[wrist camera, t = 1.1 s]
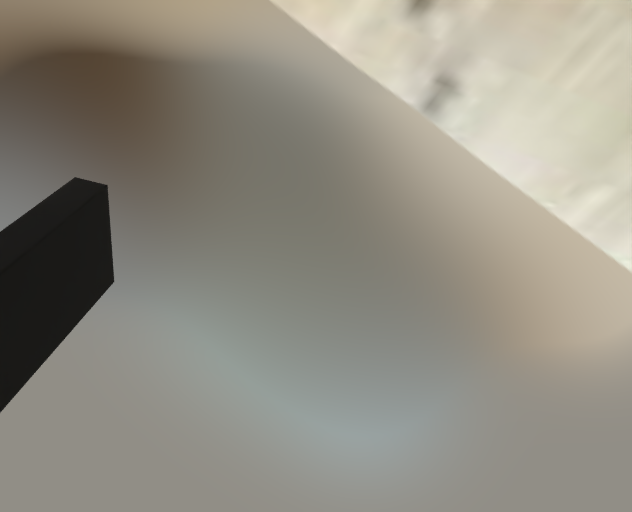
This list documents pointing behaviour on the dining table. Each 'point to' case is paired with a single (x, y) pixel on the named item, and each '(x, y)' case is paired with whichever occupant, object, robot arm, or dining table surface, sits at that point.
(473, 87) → the dining table surface
